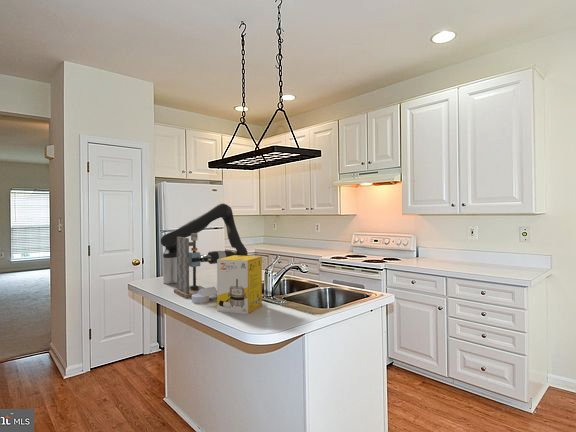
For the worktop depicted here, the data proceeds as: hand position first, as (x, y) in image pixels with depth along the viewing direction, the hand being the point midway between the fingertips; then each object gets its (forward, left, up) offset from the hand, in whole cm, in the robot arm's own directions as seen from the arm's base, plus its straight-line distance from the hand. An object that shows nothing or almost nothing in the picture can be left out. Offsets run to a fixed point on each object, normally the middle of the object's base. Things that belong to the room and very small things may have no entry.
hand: (190, 259), depth 207 cm
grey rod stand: (-1, +2, -20) cm, 20 cm away
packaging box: (+39, +22, -20) cm, 49 cm away
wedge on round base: (+18, +6, -20) cm, 28 cm away
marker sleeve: (-1, +2, -4) cm, 5 cm away
